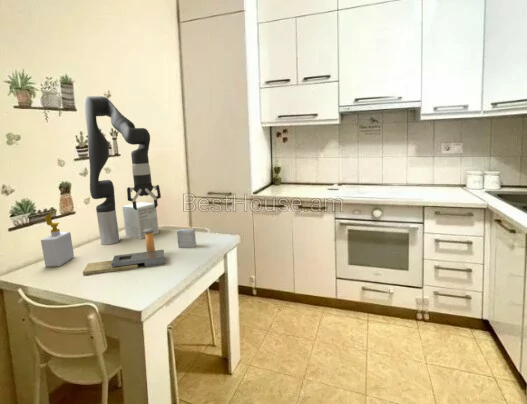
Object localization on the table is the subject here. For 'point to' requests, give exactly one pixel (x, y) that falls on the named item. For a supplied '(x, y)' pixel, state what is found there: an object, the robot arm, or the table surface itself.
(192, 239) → the medicine box
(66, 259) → the soap bottle
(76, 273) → the table surface
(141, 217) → the supplement box
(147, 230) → the pin
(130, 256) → the wooden plank with frame
